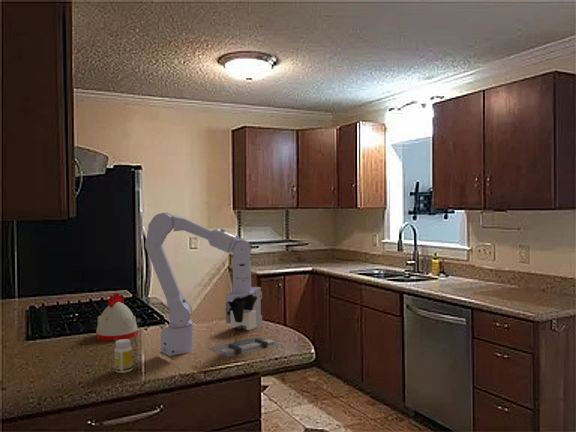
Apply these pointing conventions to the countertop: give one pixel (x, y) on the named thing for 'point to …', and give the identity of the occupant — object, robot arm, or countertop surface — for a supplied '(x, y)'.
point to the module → (245, 319)
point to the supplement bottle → (123, 356)
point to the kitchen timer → (116, 321)
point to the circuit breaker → (255, 308)
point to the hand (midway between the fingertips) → (242, 320)
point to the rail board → (243, 346)
